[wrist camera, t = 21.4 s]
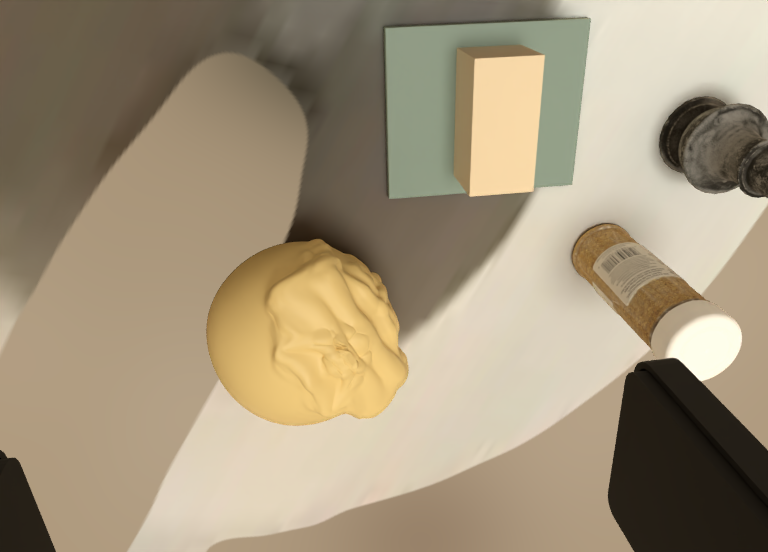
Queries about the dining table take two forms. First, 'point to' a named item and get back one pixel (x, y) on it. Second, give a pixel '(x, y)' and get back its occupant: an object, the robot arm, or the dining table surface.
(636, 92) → the dining table surface
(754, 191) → the dark grey turned piece
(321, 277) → the sculpture
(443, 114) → the lid
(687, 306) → the sprinkles bottle
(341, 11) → the dining table surface
